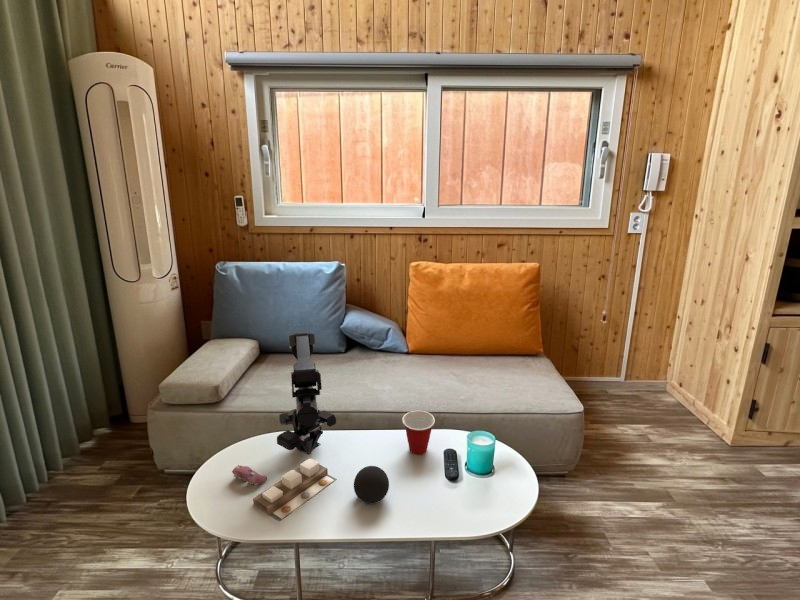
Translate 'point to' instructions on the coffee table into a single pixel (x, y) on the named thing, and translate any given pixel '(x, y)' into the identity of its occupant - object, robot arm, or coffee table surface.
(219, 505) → the coffee table surface
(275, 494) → the button
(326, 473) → the button board
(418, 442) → the plastic cup
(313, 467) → the button
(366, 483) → the speaker
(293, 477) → the button middle
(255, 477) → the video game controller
